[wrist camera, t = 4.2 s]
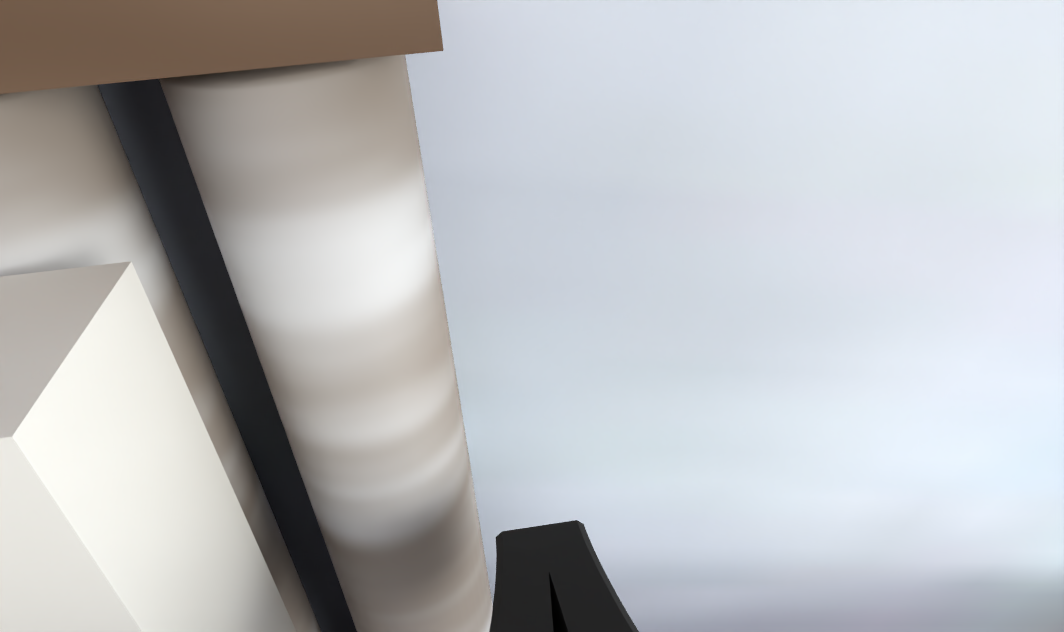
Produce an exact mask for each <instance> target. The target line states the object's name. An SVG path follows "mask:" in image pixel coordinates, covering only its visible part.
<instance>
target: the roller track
mask: <svg viewBox="0 0 1064 632" xmlns="http://www.w3.org/2000/svg"><path fill="white" fill-rule="evenodd" d="M435 51H443V44H442V36H441V28H440V20H439V12H438V4H437V0H0V277H2V276H10V275H19V274H27V273H36V272H44V271H53V270H61V269H70V268H79V267H87V266H96V265H104V264H113V263H121V262H130V261H131V262H132V264H133V266H134V268H135V270H136V273H137V275H138V277H139V279H140V282H141V284H142V286H143V288H144V291H145V293H146V295H147V297H148V300H149V302H150V304H151V306H152V309H153V311H154V313H155V315H156V318H157V320H158V322H159V324H160V327H161V329H162V331H163V333H164V336H165V338H166V340H167V342H168V345H169V347H170V349H171V351H172V353H173V356H174V358H175V360H176V362H177V365H178V367H179V369H180V371H181V374H182V376H183V378H184V380H185V383H186V385H187V387H188V389H189V392H190V394H191V396H192V398H193V401H194V403H195V405H196V407H197V410H198V412H199V414H200V416H201V419H202V421H203V423H204V425H205V428H206V430H207V432H208V434H209V437H210V439H211V441H212V443H213V445H214V448H215V450H216V452H217V454H218V457H219V459H220V461H221V463H222V466H223V468H224V470H225V472H226V475H227V477H228V479H229V481H230V484H231V486H232V488H233V490H234V493H235V495H236V497H237V499H238V502H239V504H240V506H241V508H242V511H243V513H244V515H245V517H246V520H247V522H248V524H249V526H250V529H251V531H252V533H253V535H254V537H255V540H256V542H257V544H258V546H259V549H260V551H261V553H262V555H263V558H264V560H265V562H266V564H267V567H268V569H269V571H270V573H271V576H272V578H273V580H274V582H275V585H276V587H277V589H278V591H279V594H280V596H281V598H282V600H283V603H284V605H285V607H286V609H287V612H288V614H289V616H290V618H291V621H292V623H293V625H294V627H295V629H296V632H321V629H320V627H319V625H318V622H317V620H316V617H315V615H314V612H313V610H312V607H311V605H310V603H309V600H308V598H307V595H306V593H305V590H304V588H303V585H302V583H301V581H300V578H299V576H298V573H297V571H296V568H295V566H294V564H293V561H292V559H291V556H290V554H289V551H288V549H287V546H286V544H285V542H284V539H283V537H282V534H281V532H280V529H279V527H278V525H277V522H276V520H275V517H274V515H273V512H272V510H271V507H270V505H269V503H268V500H267V498H266V495H265V493H264V490H263V488H262V485H261V483H260V481H259V478H258V476H257V473H256V471H255V468H254V466H253V464H252V461H251V459H250V456H249V454H248V451H247V449H246V446H245V444H244V442H243V439H242V437H241V434H240V432H239V429H238V427H237V424H236V422H235V420H234V417H233V415H232V412H231V410H230V407H229V405H228V403H227V400H226V398H225V395H224V393H223V390H222V388H221V385H220V383H219V381H218V378H217V376H216V373H215V371H214V368H213V366H212V364H211V361H210V359H209V356H208V354H207V351H206V349H205V346H204V344H203V342H202V339H201V337H200V334H199V332H198V329H197V327H196V324H195V322H194V320H193V317H192V315H191V312H190V310H189V307H188V305H187V303H186V300H185V298H184V295H183V293H182V290H181V288H180V285H179V283H178V281H177V278H176V276H175V273H174V271H173V268H172V266H171V263H170V261H169V259H168V256H167V254H166V251H165V249H164V246H163V244H162V242H161V239H160V237H159V234H158V232H157V229H156V227H155V224H154V222H153V220H152V217H151V215H150V212H149V210H148V207H147V205H146V203H145V200H144V198H143V195H142V193H141V190H140V188H139V185H138V183H137V181H136V178H135V176H134V173H133V171H132V168H131V166H130V163H129V161H128V159H127V156H126V154H125V151H124V149H123V146H122V144H121V142H120V139H119V137H118V134H117V132H116V129H115V127H114V124H113V122H112V120H111V117H110V115H109V112H108V110H107V107H106V105H105V102H104V100H103V98H102V95H101V93H100V90H99V88H98V84H108V83H118V82H129V81H139V80H149V79H159V81H160V84H161V86H162V89H163V92H164V95H165V98H166V100H167V103H168V106H169V109H170V111H171V114H172V117H173V120H174V123H175V125H176V128H177V131H178V134H179V137H180V139H181V142H182V145H183V148H184V151H185V153H186V156H187V159H188V162H189V164H190V167H191V170H192V173H193V176H194V178H195V181H196V184H197V187H198V190H199V192H200V195H201V198H202V201H203V203H204V206H205V209H206V212H207V215H208V217H209V220H210V223H211V226H212V229H213V231H214V234H215V237H216V240H217V242H218V245H219V248H220V251H221V254H222V256H223V259H224V262H225V265H226V268H227V270H228V273H229V276H230V279H231V281H232V284H233V287H234V290H235V293H236V295H237V298H238V301H239V304H240V307H241V309H242V312H243V315H244V318H245V321H246V323H247V326H248V329H249V332H250V334H251V337H252V340H253V343H254V346H255V348H256V351H257V354H258V357H259V360H260V362H261V365H262V368H263V371H264V373H265V376H266V379H267V382H268V385H269V387H270V390H271V393H272V396H273V399H274V401H275V404H276V407H277V410H278V412H279V415H280V418H281V421H282V424H283V426H284V429H285V432H286V435H287V438H288V440H289V443H290V446H291V449H292V451H293V454H294V457H295V460H296V463H297V465H298V468H299V471H300V474H301V477H302V479H303V482H304V485H305V488H306V491H307V493H308V496H309V499H310V502H311V504H312V507H313V510H314V513H315V516H316V518H317V521H318V524H319V527H320V530H321V532H322V535H323V538H324V541H325V543H326V546H327V549H328V552H329V555H330V557H331V560H332V563H333V566H334V569H335V571H336V574H337V577H338V580H339V582H340V585H341V588H342V591H343V594H344V596H345V599H346V602H347V605H348V608H349V610H350V613H351V616H352V619H353V621H354V624H355V627H356V630H357V632H489V630H490V624H491V618H492V610H493V605H492V599H491V592H490V586H489V580H488V574H487V567H486V561H485V555H484V548H483V542H482V536H481V530H480V523H479V517H478V511H477V504H476V498H475V492H474V486H473V479H472V473H471V467H470V460H469V454H468V448H467V442H466V435H465V429H464V423H463V416H462V410H461V404H460V398H459V391H458V385H457V379H456V372H455V366H454V360H453V354H452V347H451V341H450V335H449V328H448V322H447V316H446V310H445V303H444V297H443V291H442V284H441V278H440V272H439V265H438V259H437V253H436V247H435V240H434V234H433V228H432V221H431V215H430V209H429V203H428V196H427V190H426V184H425V177H424V171H423V165H422V159H421V152H420V146H419V140H418V133H417V127H416V121H415V115H414V108H413V102H412V96H411V89H410V83H409V77H408V71H407V64H406V58H405V54H415V53H425V52H435Z"/></svg>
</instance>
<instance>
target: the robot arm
mask: <svg viewBox="0 0 1064 632" xmlns="http://www.w3.org/2000/svg"><path fill="white" fill-rule="evenodd" d="M496 549H497V562H496V582H495V593H494V602H493V610H492V618H491V624H490V630H489V632H639V631H638V630H637V628H636V626H635V625H634V623H633V621H632V620H631V618H630V617H629V615H628V613H627V612H626V610H625V608H624V606H623V605H622V603H621V601H620V599H619V598H618V596H617V594H616V592H615V590H614V588H613V587H612V585H611V583H610V581H609V579H608V577H607V575H606V573H605V571H604V569H603V568H602V566H601V564H600V562H599V559H598V557H597V555H596V553H595V551H594V549H593V546H592V544H591V542H590V540H589V537H588V535H587V532H586V530H585V527H584V524H582V523H581V522H579V521H577V520H576V521H569V522H562V523H556V524H549V525H542V526H536V527H529V528H522V529H516V530H509V531H502V532H501V533H500V534H499V535H498V536H497V537H496Z"/></svg>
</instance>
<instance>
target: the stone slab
mask: <svg viewBox="0 0 1064 632" xmlns="http://www.w3.org/2000/svg"><path fill="white" fill-rule="evenodd" d="M0 632H296V629H295V627H294V625H293V623H292V621H291V618H290V616H289V614H288V612H287V609H286V607H285V605H284V603H283V600H282V598H281V596H280V594H279V591H278V589H277V587H276V585H275V582H274V580H273V578H272V576H271V573H270V571H269V569H268V567H267V564H266V562H265V560H264V558H263V555H262V553H261V551H260V549H259V546H258V544H257V542H256V540H255V537H254V535H253V533H252V531H251V529H250V526H249V524H248V522H247V520H246V517H245V515H244V513H243V511H242V508H241V506H240V504H239V502H238V499H237V497H236V495H235V493H234V490H233V488H232V486H231V484H230V481H229V479H228V477H227V475H226V472H225V470H224V468H223V466H222V463H221V461H220V459H219V457H218V454H217V452H216V450H215V448H214V445H213V443H212V441H211V439H210V437H209V434H208V432H207V430H206V428H205V425H204V423H203V421H202V419H201V416H200V414H199V412H198V410H197V407H196V405H195V403H194V401H193V398H192V396H191V394H190V392H189V389H188V387H187V385H186V383H185V380H184V378H183V376H182V374H181V371H180V369H179V367H178V365H177V362H176V360H175V358H174V356H173V353H172V351H171V349H170V347H169V345H168V342H167V340H166V338H165V336H164V333H163V331H162V329H161V327H160V324H159V322H158V320H157V318H156V315H155V313H154V311H153V309H152V306H151V304H150V302H149V300H148V297H147V295H146V293H145V291H144V288H143V286H142V284H141V282H140V279H139V277H138V275H137V273H136V270H135V268H134V266H133V264H132V262H131V261H130V262H121V263H113V264H104V265H96V266H87V267H79V268H70V269H61V270H53V271H44V272H36V273H27V274H19V275H10V276H2V277H0Z"/></svg>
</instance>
